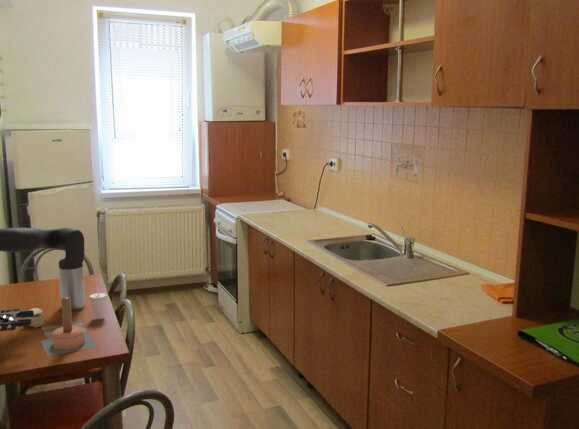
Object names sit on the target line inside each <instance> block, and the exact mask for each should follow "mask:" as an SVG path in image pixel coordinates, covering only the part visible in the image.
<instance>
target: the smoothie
mask: <svg viewBox="0 0 579 429" xmlns="http://www.w3.org/2000/svg"><path fill="white" fill-rule="evenodd" d="M96 290H97V292H96V293H93V294H92V293H91V294H90V295H89V300H90V303H91V304H90V305H91V310H92V314H93V319H94V320H102V319H104V318H105V313H106V312H105V311H106V303H107V302H106V300H107V298H108V296H107V294H106V293H104V292H100V284H99V283H98V284H97V288H96Z"/></svg>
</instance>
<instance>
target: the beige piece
mask: <svg viewBox="0 0 579 429" xmlns="http://www.w3.org/2000/svg"><path fill="white" fill-rule="evenodd" d="M29 310H33V312H34V316H33V317H25V319H29V318H30V319H31V325H29V326H28V327H33V328H39V327H41V326H45V325H44V321H45V319H44V316H45V314H44V311H43V310H42V309H41V308H38V307H36V308H35V307H34V308H31V309H29Z"/></svg>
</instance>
